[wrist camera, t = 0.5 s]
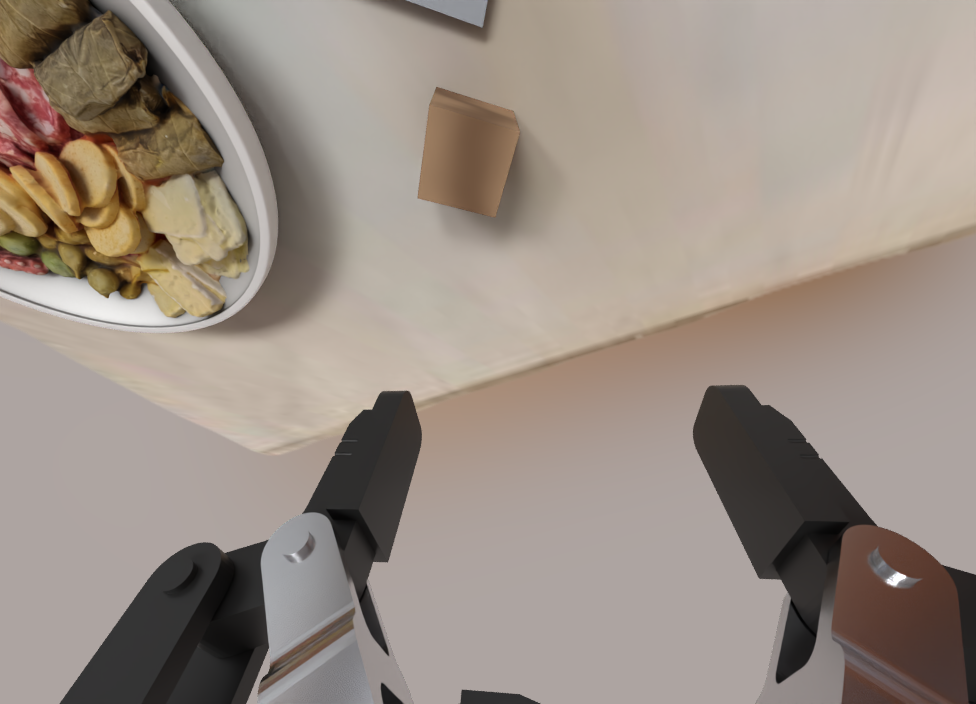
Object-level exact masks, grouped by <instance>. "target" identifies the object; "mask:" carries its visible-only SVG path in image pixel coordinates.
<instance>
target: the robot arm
mask: <svg viewBox="0 0 976 704" xmlns="http://www.w3.org/2000/svg"><path fill="white" fill-rule="evenodd" d="M693 439H694V444H695V447H696V449H697V452H698V454H699V456H700V458H701V460H702V462H703V464H704V466H705V468H706V470H707V472H708V474H709V476H710V478H711V481H712V482H713V485H714V487H715V488H716V491H717V493H718V495H719V497H720V499H721V501H722V503H723V505H724V507H725V509H726V511H727V513H728V515H729V518H730V520H731V522H732V524H733V526H734V528H735V530H736V532H737V534H738V536H739V538H740V540H741V542H742V544H743V546H744V549H745V551H746V553H747V555H748V557H749V559H750V561H751V563H752V565H753V567H754V569H755V571H756V573H757V575H758V577H759V578H760V579H781V580H782V582H783V584H784V586H785V588H786V590H787V591H788V593H787V594H786V595H785V597H784V600H783V604H782V608H781V613H780V618H779V622H778V627H777V631H776V636H775V641H774V645H773V651H772V655H771V659H770V664H769V668H768V673H767V678H766V681H765V685H764V687H763V690H762V692H761V694H760V696H759V698H758V699H757V701H756V703H755V704H976V575H974V574H971V573H968V572H964V571H961V570H957V569H954V568H950V567H947V566H944V565H941V564H940V563H939V562H938V561H937V560H936V559H935V558H934V557H933V556H932V555H931V554H929V553H928V552H927V551H926V550H925V549H923V548H922V547H920V546H919V545H917V544H916V543H914V542H913V541H911V540H909V539H908V538H906V537H904V536H902V535H900V534H898V533H896V532H893V531H891V530H888V529H885V528H882V527H878V526H877V525H876V524H875V523H874V522H873V520H872V519H871V518H870V517H869V516H868V515H867V513H866V512H865V511H864V510H863V508H862V507H861V506H860V505H859V503H858V502H857V501H856V500H855V498H854V497H853V496H852V495H851V494H850V492H849V491H848V490H847V489H846V487H845V486H844V485H843V484H842V483H841V481H840V480H839V479H838V478H837V476H836V475H835V474H834V473H833V471H832V470H831V469H830V468H829V467H828V465H827V464H826V463H825V462H824V460H823V459H820V458H819V456H818V453H817V452H816V451H815V449H814V448H813V447H812V446H811V444H810V443H807V442H806V438H805V437H804V436H803V435H802V433H801V432H800V431H799V430H798V428H797V427H796V426H795V425H794V424H793V422H792V421H791V420H789V419H788V418H787V417H785V416H784V415H782V414H781V413H779V412H778V411H776V410H775V409H774V408H773V407H771V406H770V405H761V404H760V403H759V401H758V400H757V399H756V397H755V396H754V395H753V393H752V392H751V391H750V390H749V389H748V388H747V387H746V386H744V385H724V386H722V385H721V386H709V387H708V389H707V390H706V392H705V395H704V398H703V401H702V404H701V407H700V409H699V412H698V415H697V418H696V421H695V424H694V428H693ZM421 440H422V432H421V426H420V423H419V419H418V416H417V413H416V409H415V406H414V403H413V399H412V396H411V394H410V392H409V391H383V392H381V393H380V394H379V396H378V398H377V400H376V402H375V405H374V407H373V409H372V410H363V411H362V412H361V413H360V414H359V415H358V416H357V417H356V418H355V419H354V420H353V421H352V422H351V423H350V424H349V426H348V428H347V430H346V432H345V434H344V436H343V438H342V442H341V443H340V444H339V446H338V447H337V449H336V452H335V456H333V457H332V459H331V461H330V463H329V465H328V467H327V469H326V471H325V472H324V475H323V476H322V478H321V480H320V482H319V484H318V486H317V488H316V490H315V492H314V494H313V496H312V498H311V500H310V502H309V504H308V506H307V507H306V509H305V511H304V512H303V513H302V514H301V515H298V516H296V517H294V518H292V519H290V520H289V521H287V522H286V523H284V524H283V525H282V526H281V527H280V528H278V530H277V531H275V533H274V534H273V535H272V536H271V537H270V539H269V540H266V541H264V542H260V543H257V544H254V545H250V546H247V547H244V548H240V549H237V550H234V551H231V552H227V553H224V552H223V551H222V550H220V549H219V548H218V547H217V546H216V545H214V544H212V543H197V544H194V545H191V546H188V547H186V548H184V549H182V550H180V551H179V552H177V553H175V554H174V555H172V556H171V557H170V558H169V559H167V560H166V561H165V562H164V563H163V564H161V565H160V566H159V567H158V568H157V569H156V571H155V572H154V573H153V574H152V575H151V577H150V578H149V579H148V580H147V582H146V583H145V585H144V586H143V588H142V589H141V590H140V592H139V593H138V594H137V596H136V597H135V599H134V600H133V602H132V603H131V604H130V606H129V607H128V609H127V610H126V611H125V613H124V614H123V616H122V617H121V619H120V620H119V621H118V623H117V624H116V626H115V627H114V628H113V630H112V631H111V633H110V634H109V635H108V637H107V638H106V639H105V641H104V642H103V644H102V645H101V646H100V648H99V649H98V651H97V652H96V653H95V655H94V656H93V658H92V659H91V660H90V662H89V663H88V665H87V666H86V667H85V669H84V670H83V672H82V673H81V674H80V676H79V677H78V679H77V680H76V682H75V683H74V684H73V686H72V687H71V688H70V690H69V691H68V693H67V694H66V695H65V697H64V698H63V700H62V701H61V703H60V704H246V703H247V700H248V698H249V695H250V693H251V691H252V688H253V686H254V683H255V681H256V678H257V676H258V673H259V671H260V668H261V666H262V664H263V661H264V659H265V656H266V654H267V651H268V649H269V651H270V669H269V672H268V674H267V675H265V676H264V677H263V678H262V680H261V682H260V685H259V690H258V704H414V703H413V700H412V698H411V694H410V692H409V689H408V686H407V684H406V682H405V679H404V677H403V675H402V673H401V671H400V669H399V667H398V664H397V662H396V660H395V657H394V655H393V652H392V649H391V646H390V643H389V640H388V637H387V634H386V631H385V628H384V625H383V622H382V619H381V616H380V613H379V610H378V607H377V604H376V601H375V598H374V595H373V592H372V589H371V586H370V583H369V580H368V576H369V573H370V570H371V567H372V563H373V562H388V560H389V557H390V553H391V550H392V546H393V543H394V539H395V536H396V532H397V529H398V525H399V522H400V518H401V515H402V511H403V508H404V504H405V501H406V497H407V493H408V490H409V486H410V483H411V479H412V476H413V472H414V469H415V465H416V462H417V458H418V454H419V451H420V447H421ZM460 704H540V703H538V702H535V701H533V700H531V699H529V698H526V697H524V696H522V695H520V694H509V693H497V692H496V693H495V692H485V691H472V690H462V693H461V703H460Z"/></svg>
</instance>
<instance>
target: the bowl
mask: <svg viewBox="0 0 976 704" xmlns="http://www.w3.org/2000/svg"><path fill="white" fill-rule="evenodd" d="M277 239H278V208H277V201H276V195H275V190H274V185H273V180H272V177H271V173H270V169H269V166H268V163H267V160H266V157H265V154H264V151H263V149H262V146H261V144H260V141H259V139H258V136H257V134H256V132H255V130H254V128H253V125H252V123H251V121H250V119H249V117H248V115H247V113H246V111H245V109H244V107H243V105H242V104H241V102H240V100H239V98H238V97H237V95H236V93H235V91H234V90H233V88H232V86H231V85H230V83H229V81H228V80H227V78H226V77H225V75H224V73H223V72H222V70H221V69H220V67H219V66H218V64H217V63H216V61H215V60H214V58H213V57H212V55H211V54H210V52H209V51H208V50H207V48H206V47H205V46H204V44H203V43H202V41H201V40H200V39H199V37H198V36H197V35H196V33H195V32H194V31H193V29H192V28H191V27H190V26H189V24H188V23H187V22H186V21H185V19H184V18H183V17H182V16H181V14H180V13H179V12H178V11H177V9H176V8H175V7H174V6H173V5H172V4H171V2H170V1H169V0H0V297H3V298H5V299H8V300H11V301H13V302H16V303H19V304H21V305H24V306H27V307H30V308H33V309H35V310H38V311H41V312H45V313H48V314H51V315H54V316H58V317H61V318H64V319H68V320H72V321H76V322H80V323H84V324H88V325H93V326H98V327H103V328H108V329H114V330H121V331H129V332H140V333H177V332H186V331H192V330H197V329H201V328H205V327H208V326H212V325H214V324H217V323H219V322H222V321H224V320H226V319H228V318H230V317H231V316H233V315H234V314H236V313H237V312H239V311H240V310H241V309H243V308H244V307H245V306H246V305H247V304H248V303H249V302H250V301H251V299H252V298H253V297H254V296H255V294H256V293H257V292H258V290H259V289H260V287H261V286H262V284H263V283H264V281H265V279H266V277H267V275H268V273H269V271H270V268H271V266H272V263H273V259H274V256H275V251H276V246H277Z"/></svg>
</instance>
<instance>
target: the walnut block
mask: <svg viewBox="0 0 976 704" xmlns="http://www.w3.org/2000/svg"><path fill="white" fill-rule="evenodd" d="M519 134H520V130H519V127H518V124H517V121H516V118H515V115H514V112H513V111H511V110H508V109H505V108H502V107H498V106H495V105H492V104H489V103H486V102H483V101H479V100H476V99H473V98H470V97H467V96H464V95H460V94H457V93H454V92H451V91H448V90H445V89H441V88H438V87H436V90H435V92H434V95H433V97H432V100H431V102H430V105H429V112H428V120H427V128H426V136H425V144H424V152H423V159H422V167H421V175H420V183H419V191H418V198H419V199H423V200H427V201H431V202H435V203H439V204H443V205H447V206H451V207H455V208H459V209H463V210H467V211H471V212H475V213H479V214H483V215H487V216H491V217H496V213H497V210H498V207H499V203H500V200H501V196H502V193H503V189H504V186H505V182H506V179H507V176H508V172H509V169H510V165H511V162H512V158H513V155H514V151H515V148H516V145H517V141H518V138H519Z"/></svg>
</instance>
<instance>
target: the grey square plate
mask: <svg viewBox="0 0 976 704" xmlns="http://www.w3.org/2000/svg"><path fill="white" fill-rule="evenodd" d="M407 1H410V2H412V3H415V4H418V5H421V6H423V7H426V8H429V9H432V10H435V11H437V12H440V13H443V14H446V15H449V16H451V17H454V18H457V19H460V20H462V21H465V22H468V23H471V24H474V25H476V26H479V27H482V28H483V22H484V17H485V12H486V7H487V1H488V0H407Z"/></svg>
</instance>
